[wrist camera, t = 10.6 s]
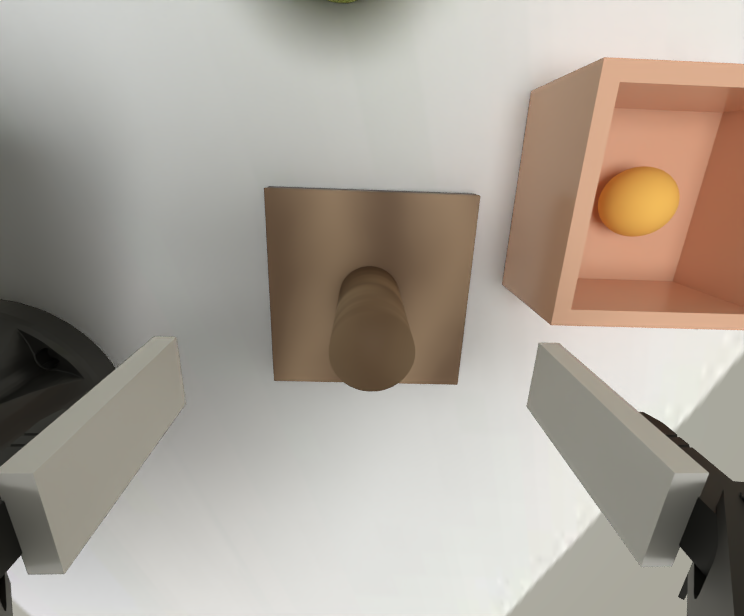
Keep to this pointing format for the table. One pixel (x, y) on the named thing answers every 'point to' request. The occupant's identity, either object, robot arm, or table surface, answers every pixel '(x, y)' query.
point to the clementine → (638, 201)
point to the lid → (368, 285)
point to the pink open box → (606, 160)
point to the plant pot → (342, 1)
